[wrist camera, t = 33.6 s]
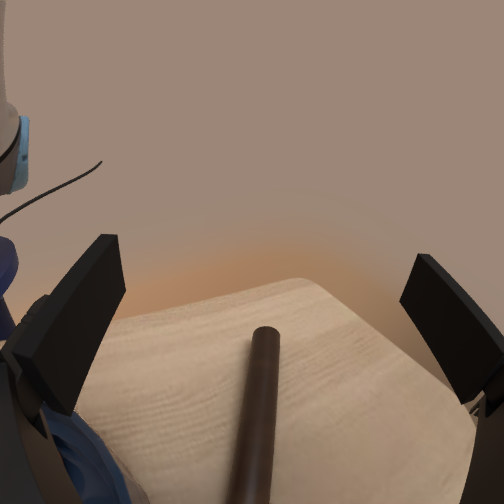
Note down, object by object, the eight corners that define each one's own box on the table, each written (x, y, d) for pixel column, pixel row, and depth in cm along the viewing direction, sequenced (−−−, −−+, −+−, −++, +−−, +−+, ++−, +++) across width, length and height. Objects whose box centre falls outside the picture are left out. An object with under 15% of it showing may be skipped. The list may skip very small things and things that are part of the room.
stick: (270, 322, 25) (244, 554, 8) (285, 339, 26) (272, 555, 8) (247, 332, 26) (208, 548, 9) (263, 348, 27) (237, 552, 9)
